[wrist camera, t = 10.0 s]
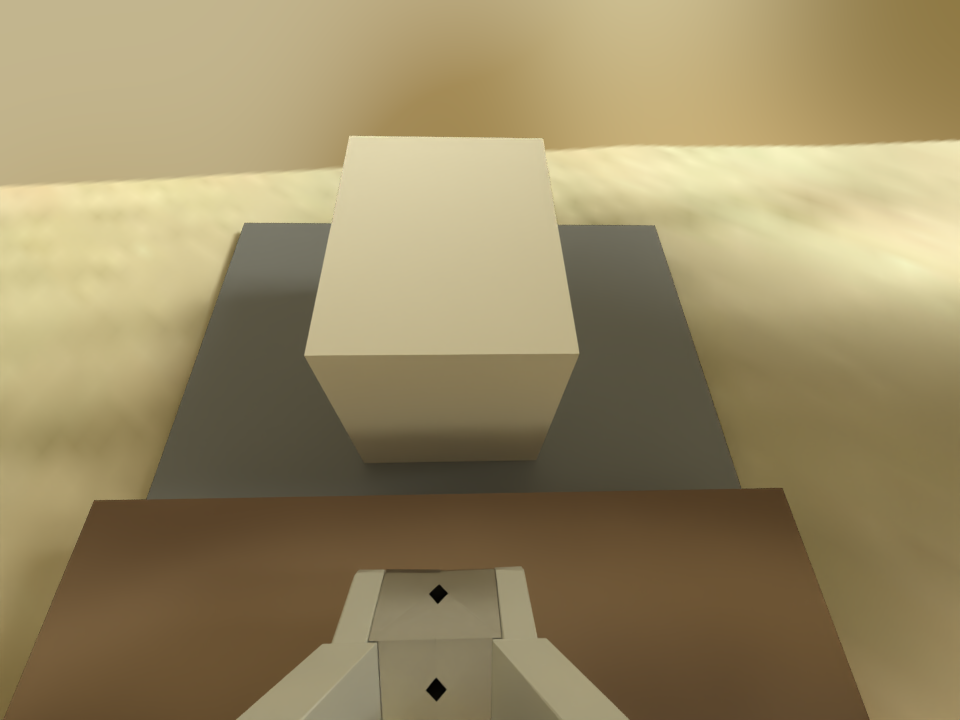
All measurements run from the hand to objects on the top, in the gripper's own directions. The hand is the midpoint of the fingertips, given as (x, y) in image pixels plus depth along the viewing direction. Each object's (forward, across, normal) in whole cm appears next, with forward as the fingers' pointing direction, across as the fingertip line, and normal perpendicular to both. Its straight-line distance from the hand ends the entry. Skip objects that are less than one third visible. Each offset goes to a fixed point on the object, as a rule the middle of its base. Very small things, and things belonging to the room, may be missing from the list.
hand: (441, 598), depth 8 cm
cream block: (+5, 0, -2) cm, 5 cm away
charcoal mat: (+12, 0, -2) cm, 12 cm away
